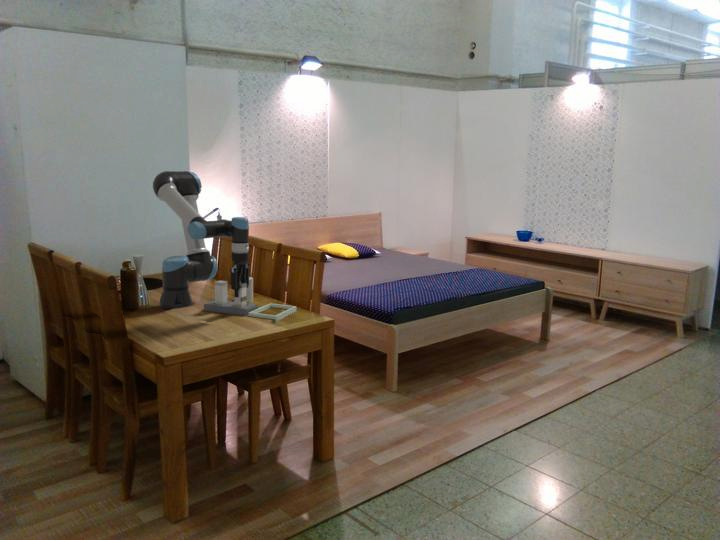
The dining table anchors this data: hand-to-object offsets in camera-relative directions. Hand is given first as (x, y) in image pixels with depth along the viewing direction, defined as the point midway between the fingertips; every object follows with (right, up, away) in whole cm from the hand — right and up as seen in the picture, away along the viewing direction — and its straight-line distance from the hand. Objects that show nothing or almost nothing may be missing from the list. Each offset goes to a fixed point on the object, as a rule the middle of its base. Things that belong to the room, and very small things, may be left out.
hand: (240, 302), depth 276 cm
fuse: (-10, -3, +4) cm, 11 cm away
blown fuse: (0, -4, +1) cm, 4 cm away
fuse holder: (-5, -5, +3) cm, 7 cm away
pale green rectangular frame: (+15, -6, +1) cm, 16 cm away
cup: (-3, -1, +24) cm, 24 cm away
